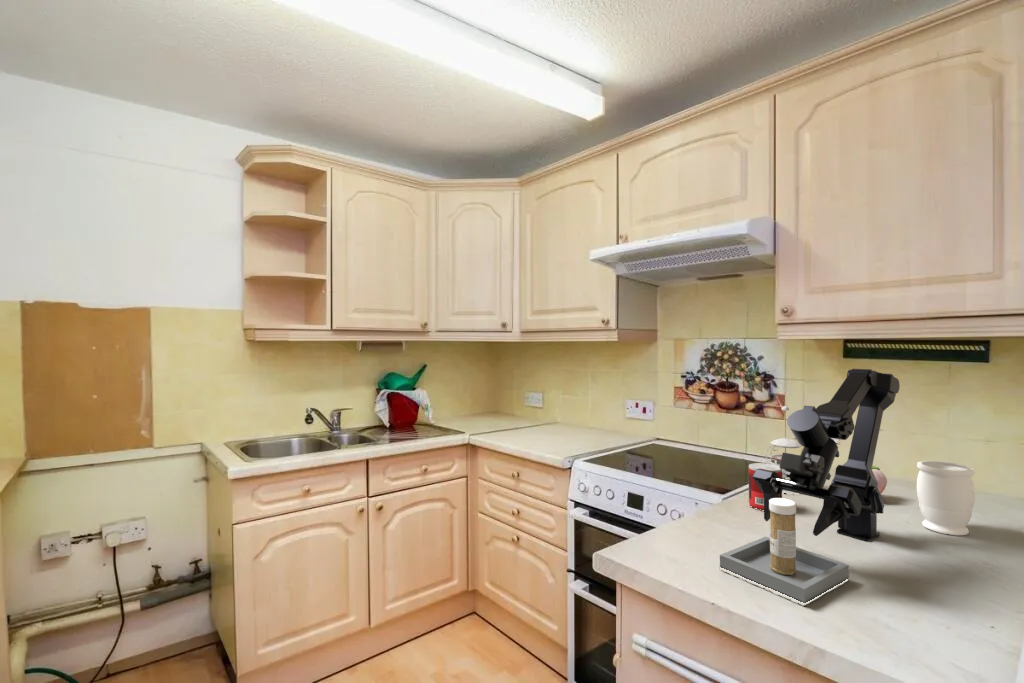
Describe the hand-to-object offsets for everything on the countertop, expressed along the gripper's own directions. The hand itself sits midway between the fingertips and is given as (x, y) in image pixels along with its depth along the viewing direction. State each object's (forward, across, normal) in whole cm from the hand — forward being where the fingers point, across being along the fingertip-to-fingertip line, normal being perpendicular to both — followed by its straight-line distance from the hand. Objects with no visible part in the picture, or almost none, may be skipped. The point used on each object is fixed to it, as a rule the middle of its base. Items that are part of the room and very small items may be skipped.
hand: (789, 527), depth 97 cm
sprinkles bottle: (+7, 0, +4) cm, 8 cm away
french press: (-30, -27, +44) cm, 60 cm away
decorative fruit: (-37, -9, +50) cm, 63 cm away
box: (+8, 0, +4) cm, 9 cm away
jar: (-29, +11, +43) cm, 53 cm away
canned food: (-16, -22, +29) cm, 40 cm away
